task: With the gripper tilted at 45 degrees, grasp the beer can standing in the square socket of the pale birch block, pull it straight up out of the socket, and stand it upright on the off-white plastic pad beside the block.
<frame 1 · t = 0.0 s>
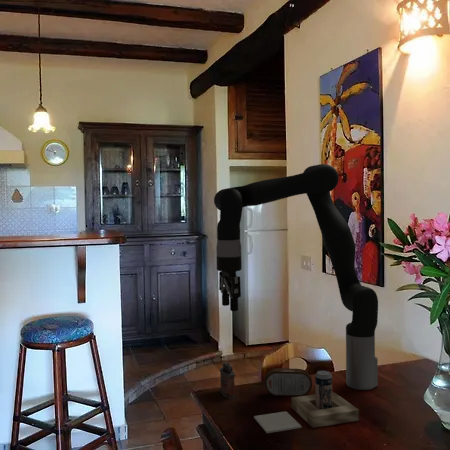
hand: (229, 308, 148), 29 cm above the table, tool pointing down, fingers open, 8 cm apart
lighter: (227, 394, 156), on the table
pad: (277, 422, 135), on the table
socket block: (324, 413, 141), on the table
beer can: (324, 414, 141), resting in socket block
tin: (288, 396, 155), on the table
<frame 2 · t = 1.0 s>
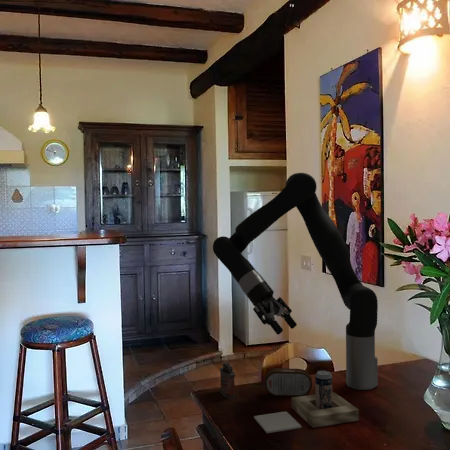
hand: (287, 329, 147), 23 cm above the table, tool tilted 45°, fingers open, 8 cm apart
nothing on the table moved.
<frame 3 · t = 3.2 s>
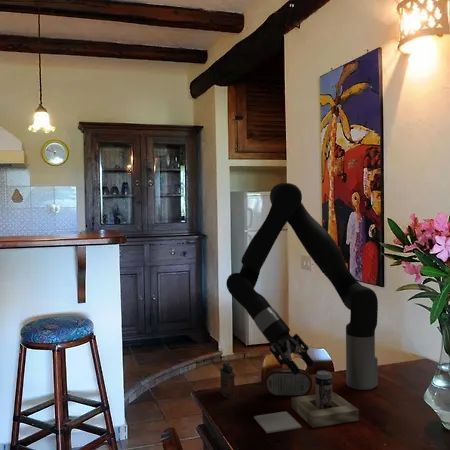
hand: (305, 369, 144), 12 cm above the table, tool tilted 45°, fingers open, 8 cm apart
nothing on the table moved.
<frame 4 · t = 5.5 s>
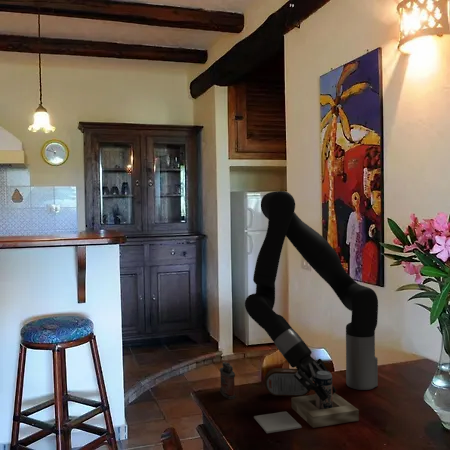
hand: (329, 395, 139), 6 cm above the table, tool tilted 45°, fingers closed on beer can, 4 cm apart
beer can: (324, 414, 141), resting in socket block, touching gripper
everything else where it was.
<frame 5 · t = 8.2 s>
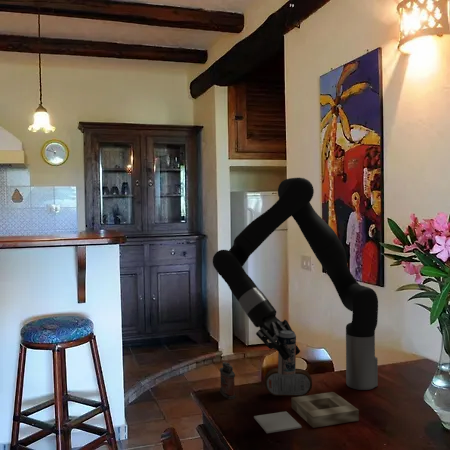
hand: (292, 355, 135), 19 cm above the table, tool tilted 45°, fingers closed on beer can, 4 cm apart
beer can: (286, 375, 136), point 13 cm above the table, touching gripper
everything else where it was.
when the fingers open (7 cm above the table, at t = 10.9 s): beer can drops 1 cm, resting on pad.
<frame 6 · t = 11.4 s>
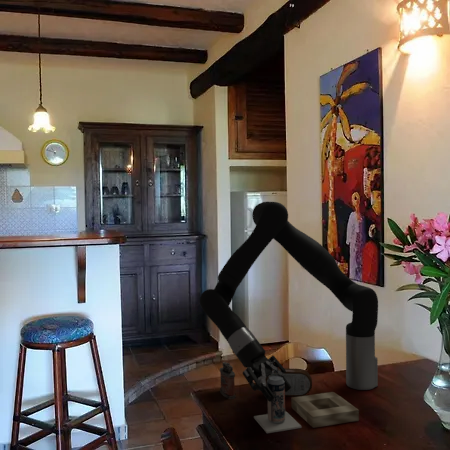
hand: (280, 394, 134), 8 cm above the table, tool tilted 45°, fingers open, 8 cm apart
beer can: (276, 421, 136), resting on pad
everything else where it was.
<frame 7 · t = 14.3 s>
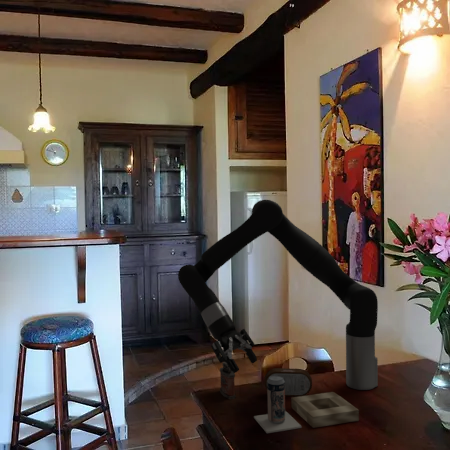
hand: (246, 366, 146), 12 cm above the table, tool tilted 40°, fingers open, 8 cm apart
nothing on the table moved.
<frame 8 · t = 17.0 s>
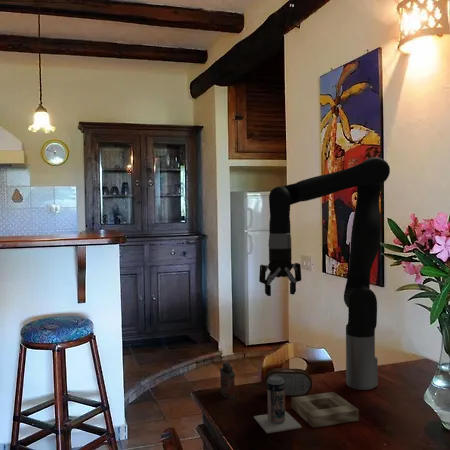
hand: (280, 294, 164), 30 cm above the table, tool pointing down, fingers open, 8 cm apart
nothing on the table moved.
at the end: beer can inside the target area on the pad (0.2 cm from its centre), point 0.3 cm above the pad's base; beer can tilted 0°; the gripper is holding nothing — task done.
